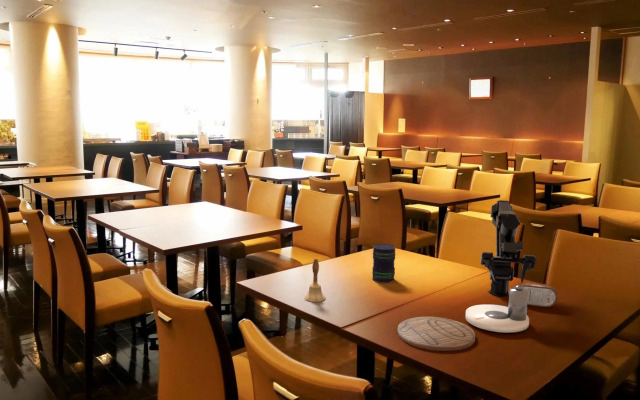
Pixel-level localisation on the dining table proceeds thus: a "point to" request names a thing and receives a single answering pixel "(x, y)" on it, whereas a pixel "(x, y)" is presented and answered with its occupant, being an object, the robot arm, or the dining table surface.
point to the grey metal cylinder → (517, 303)
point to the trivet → (436, 334)
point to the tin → (540, 294)
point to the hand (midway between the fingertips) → (508, 281)
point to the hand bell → (315, 286)
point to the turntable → (494, 319)
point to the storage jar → (383, 263)
